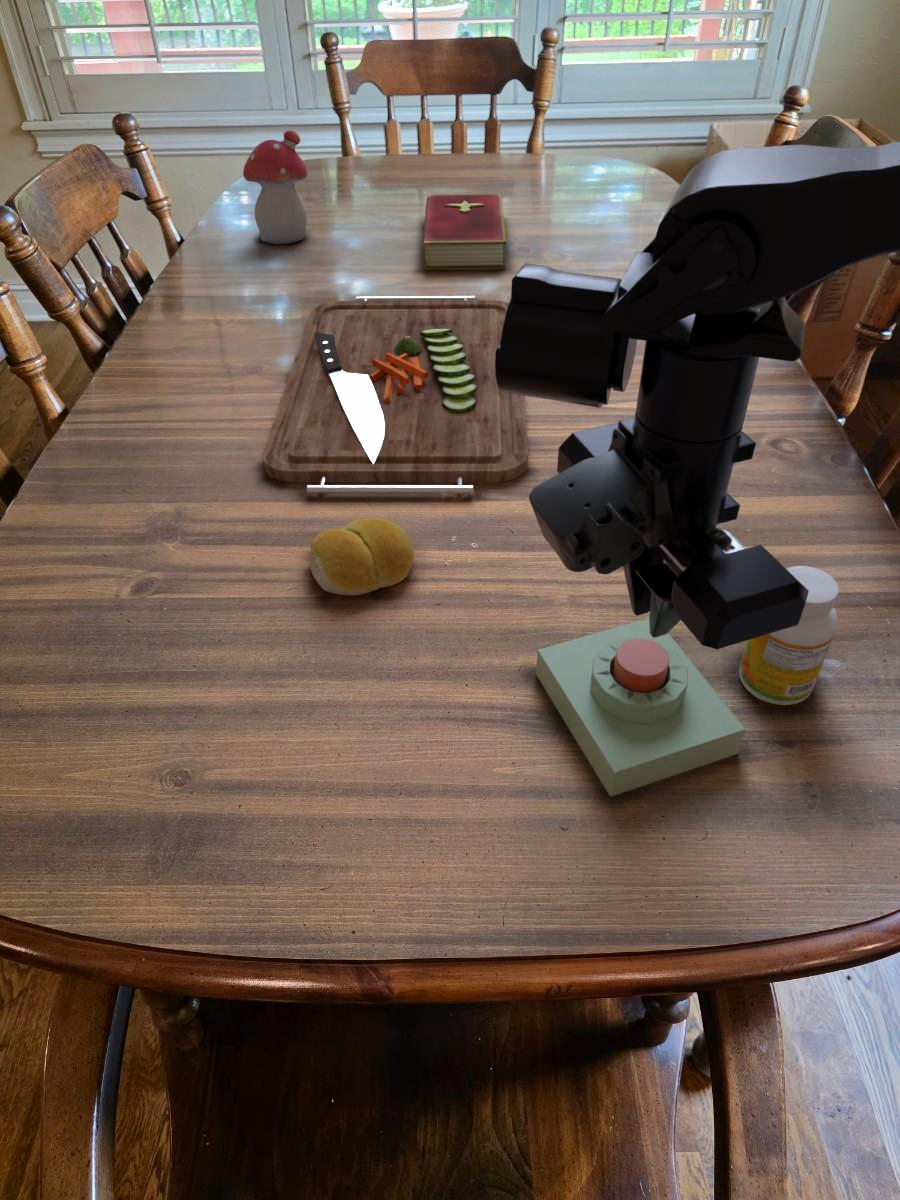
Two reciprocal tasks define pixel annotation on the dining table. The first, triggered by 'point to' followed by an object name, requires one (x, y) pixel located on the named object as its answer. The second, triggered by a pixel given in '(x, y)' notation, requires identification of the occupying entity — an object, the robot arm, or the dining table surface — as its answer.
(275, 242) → the decorative ornament
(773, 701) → the supplement bottle
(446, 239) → the hardcover book
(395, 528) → the bread roll
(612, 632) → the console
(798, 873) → the dining table surface
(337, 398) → the chopping board
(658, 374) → the robot arm
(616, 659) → the button
